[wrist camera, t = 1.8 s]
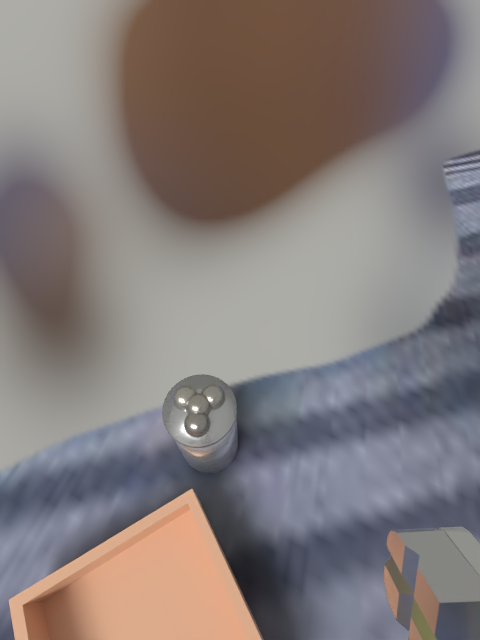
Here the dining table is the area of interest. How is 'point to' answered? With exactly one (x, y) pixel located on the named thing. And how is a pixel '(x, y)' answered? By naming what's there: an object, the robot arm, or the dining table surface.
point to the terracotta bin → (142, 586)
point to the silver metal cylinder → (203, 422)
